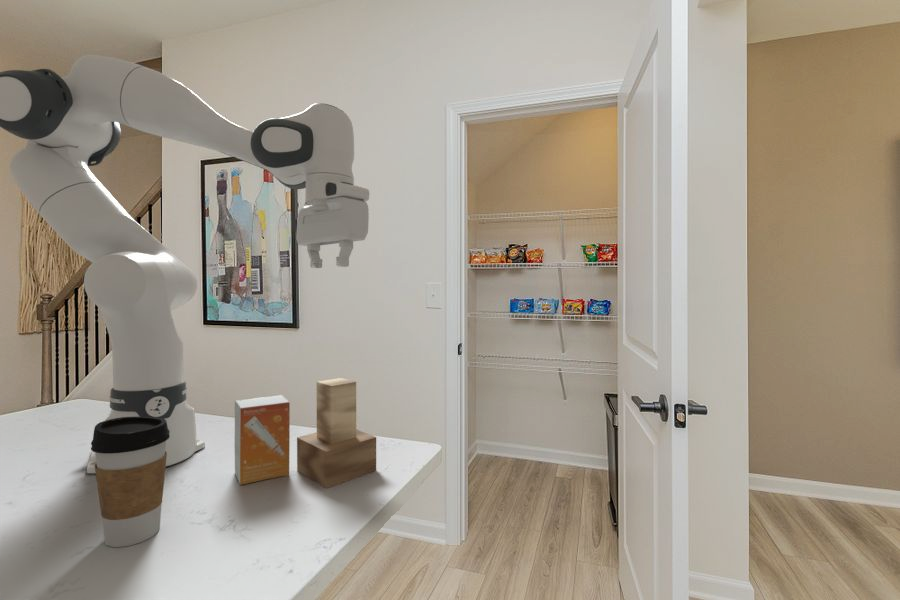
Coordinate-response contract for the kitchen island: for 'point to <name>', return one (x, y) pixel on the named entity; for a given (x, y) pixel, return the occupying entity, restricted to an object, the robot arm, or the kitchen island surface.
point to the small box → (262, 438)
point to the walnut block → (336, 458)
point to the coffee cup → (130, 477)
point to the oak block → (336, 410)
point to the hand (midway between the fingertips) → (328, 267)
